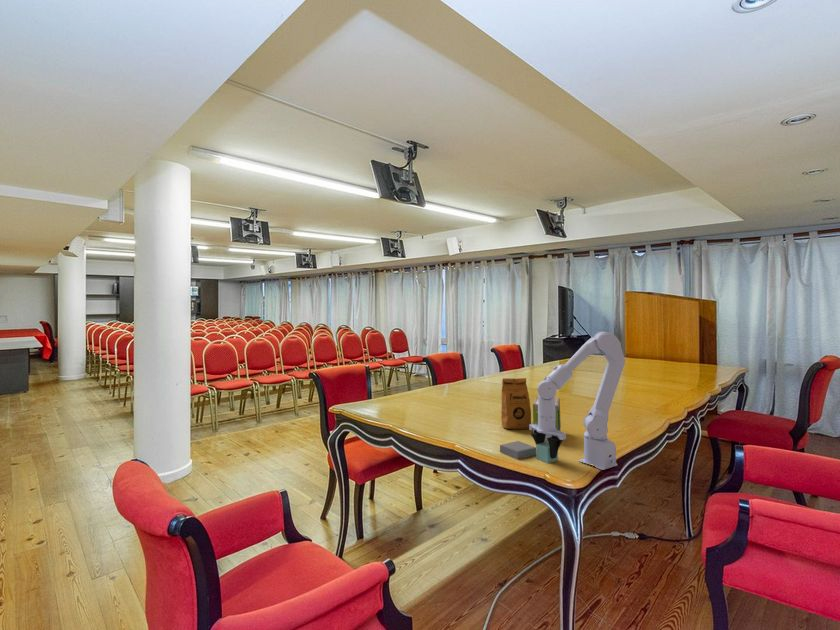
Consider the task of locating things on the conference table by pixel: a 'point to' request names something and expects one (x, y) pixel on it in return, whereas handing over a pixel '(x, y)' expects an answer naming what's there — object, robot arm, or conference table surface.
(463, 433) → the conference table surface
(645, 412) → the conference table surface
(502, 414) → the coffee package
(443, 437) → the conference table surface
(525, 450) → the slate plinth
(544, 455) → the teal cube
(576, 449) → the conference table surface
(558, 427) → the tea box
